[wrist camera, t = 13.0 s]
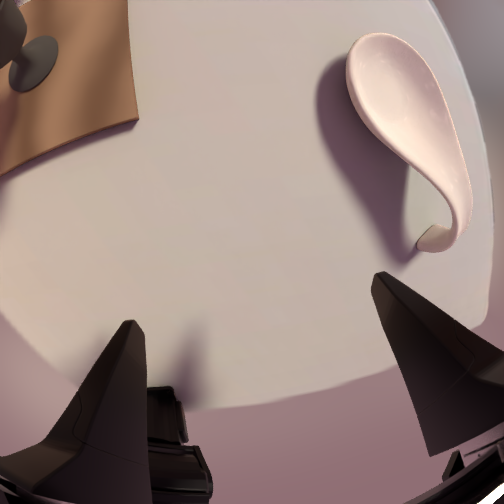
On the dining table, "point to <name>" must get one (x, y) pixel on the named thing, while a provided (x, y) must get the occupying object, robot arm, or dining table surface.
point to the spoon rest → (411, 123)
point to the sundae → (23, 50)
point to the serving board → (69, 79)
